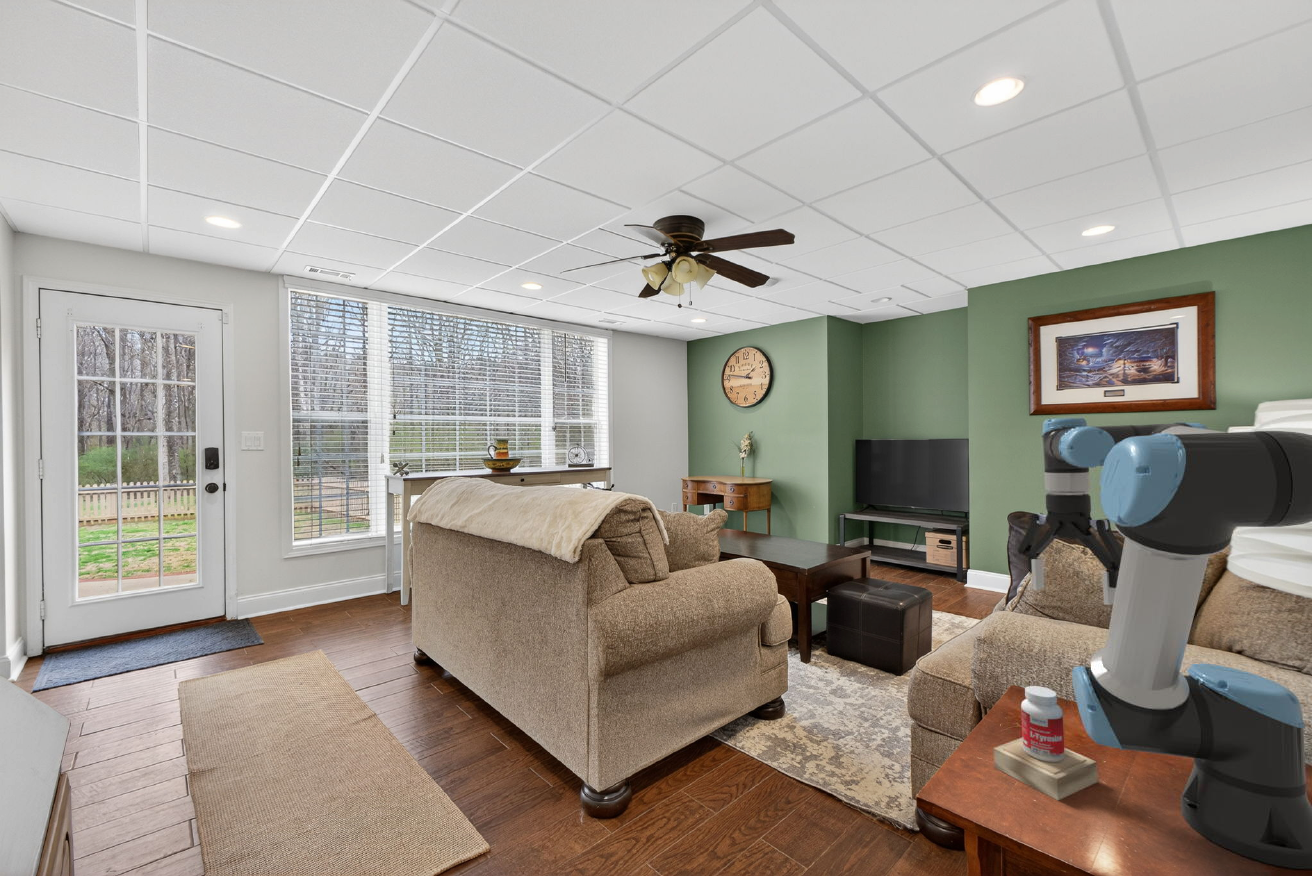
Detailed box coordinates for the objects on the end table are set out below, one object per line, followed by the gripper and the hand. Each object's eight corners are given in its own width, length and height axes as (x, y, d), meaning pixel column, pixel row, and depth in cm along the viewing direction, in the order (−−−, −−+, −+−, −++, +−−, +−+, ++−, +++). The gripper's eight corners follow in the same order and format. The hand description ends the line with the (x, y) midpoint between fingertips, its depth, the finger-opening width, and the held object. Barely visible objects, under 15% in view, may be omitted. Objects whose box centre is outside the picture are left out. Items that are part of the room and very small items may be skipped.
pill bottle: (1027, 760, 99) (1024, 696, 100) (1019, 742, 105) (1016, 682, 105) (1070, 765, 97) (1066, 700, 97) (1058, 747, 103) (1055, 686, 103)
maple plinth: (1097, 782, 99) (1096, 760, 99) (1058, 800, 94) (1056, 777, 94) (1032, 752, 109) (1031, 732, 109) (994, 767, 104) (993, 747, 104)
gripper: (1150, 495, 108) (1155, 607, 108) (1018, 488, 131) (1023, 581, 130) (1127, 498, 105) (1133, 614, 105) (997, 490, 128) (1001, 585, 127)
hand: (1072, 596), depth 118 cm, fingers open, 13 cm apart
